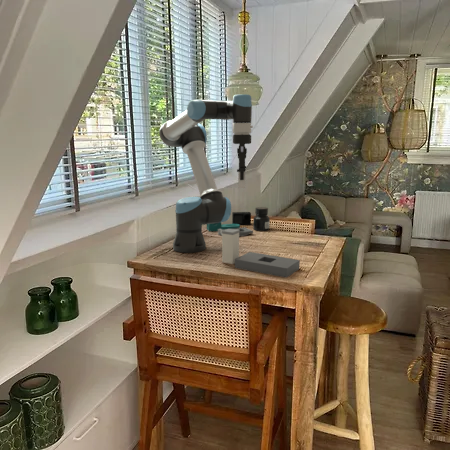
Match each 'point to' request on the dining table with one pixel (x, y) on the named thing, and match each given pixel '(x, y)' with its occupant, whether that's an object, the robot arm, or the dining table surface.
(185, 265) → the dining table surface
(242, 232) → the graphics card
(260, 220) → the ink bottle
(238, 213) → the digital camera
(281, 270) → the plate with square hole
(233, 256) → the plug
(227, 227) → the bracket
